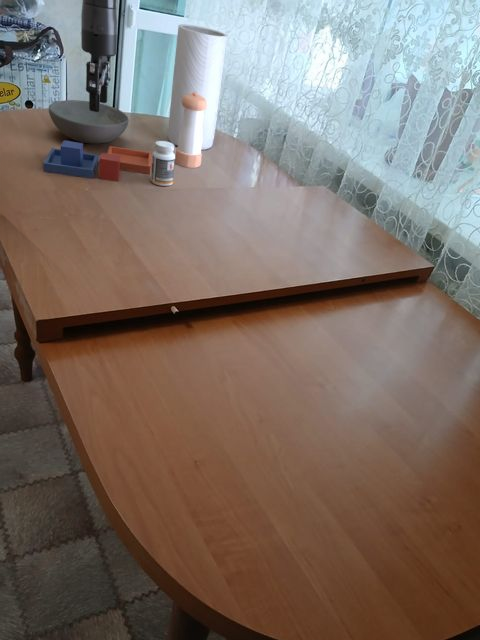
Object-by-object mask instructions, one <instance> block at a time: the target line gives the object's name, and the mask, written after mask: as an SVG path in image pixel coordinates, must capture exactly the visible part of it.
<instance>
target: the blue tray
mask: <svg viewBox="0 0 480 640" xmlns="http://www.w3.org/2000/svg"><path fill="white" fill-rule="evenodd" d="M99 157H100V156H99V154H94V153H88V152H83V164H82V166H81V167H75V166H68V165H61V148H55V147H51V148H50V150H49V152H48V154H47V156H46V157H45V159H44V161H43V163H42V171H43V173H50V174H51V173H52V174H59V175H65V176H72V177H73V176H74V177H78V178H87V179H94V177H95V174H96V171H97V167H98V166H99Z"/></svg>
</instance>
